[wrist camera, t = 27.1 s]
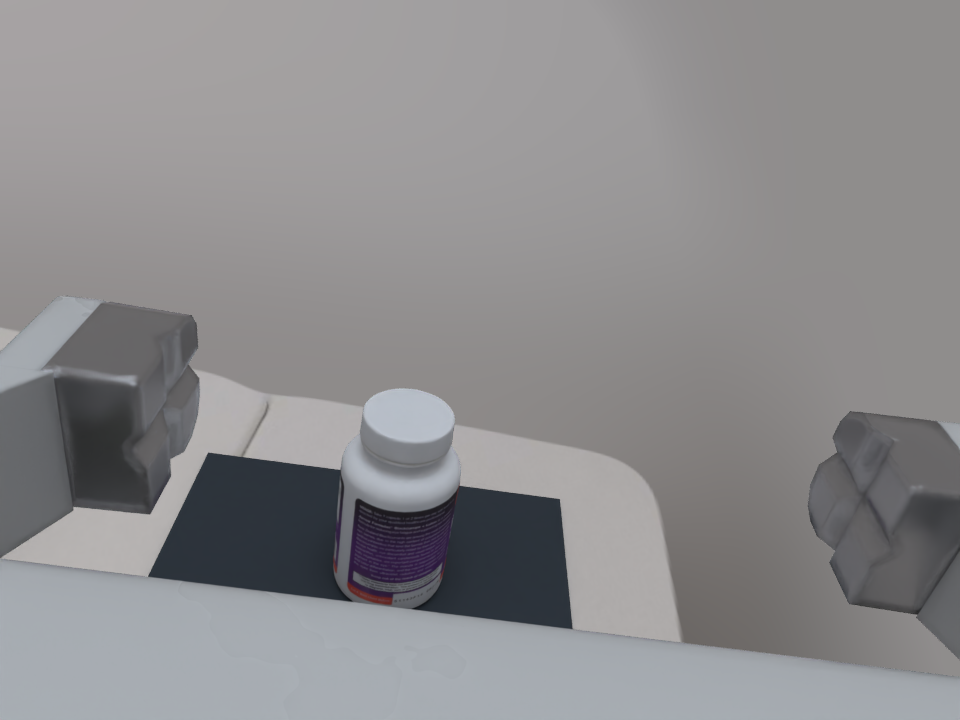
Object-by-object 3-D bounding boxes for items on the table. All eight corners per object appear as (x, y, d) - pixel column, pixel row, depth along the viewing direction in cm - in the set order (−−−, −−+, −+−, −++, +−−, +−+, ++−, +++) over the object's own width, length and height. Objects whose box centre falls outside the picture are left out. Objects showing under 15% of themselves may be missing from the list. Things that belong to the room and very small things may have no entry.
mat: (559, 501, 46) (559, 498, 46) (580, 722, 35) (581, 719, 34) (208, 455, 45) (208, 452, 45) (105, 668, 33) (104, 665, 33)
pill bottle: (464, 585, 40) (496, 428, 35) (373, 635, 36) (394, 469, 31) (400, 519, 43) (421, 366, 38) (311, 559, 40) (321, 398, 35)
